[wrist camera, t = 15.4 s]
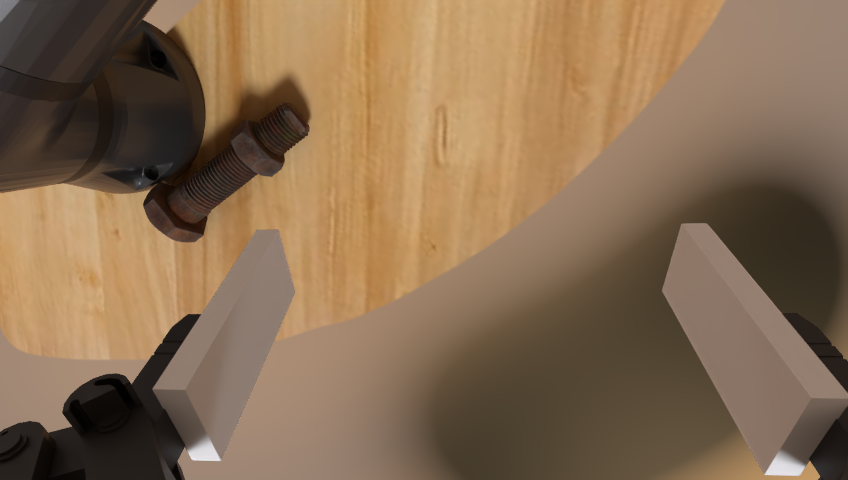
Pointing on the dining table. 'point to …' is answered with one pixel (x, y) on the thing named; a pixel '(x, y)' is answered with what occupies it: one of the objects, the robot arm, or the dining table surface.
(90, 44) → the robot arm
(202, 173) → the bolt
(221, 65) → the dining table surface
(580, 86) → the dining table surface
